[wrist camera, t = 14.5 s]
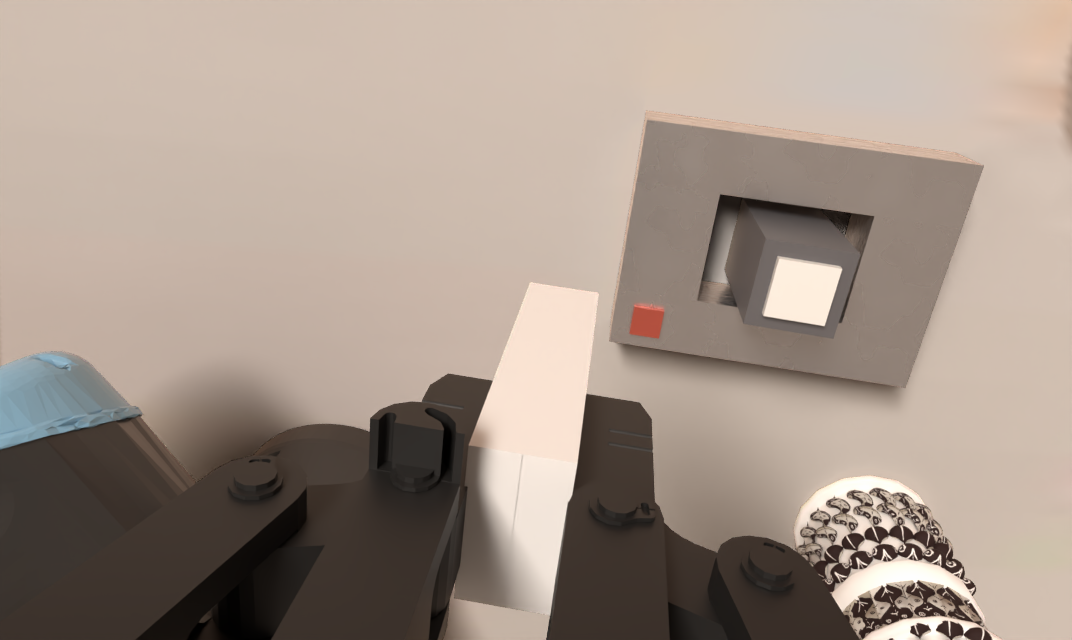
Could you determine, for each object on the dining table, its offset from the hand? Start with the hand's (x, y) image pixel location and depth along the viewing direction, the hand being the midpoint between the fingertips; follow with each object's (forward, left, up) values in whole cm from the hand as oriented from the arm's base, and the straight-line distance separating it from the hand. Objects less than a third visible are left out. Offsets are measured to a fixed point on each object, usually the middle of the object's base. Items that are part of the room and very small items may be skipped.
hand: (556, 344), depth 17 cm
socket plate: (-4, -10, -26) cm, 29 cm away
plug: (-4, -10, -27) cm, 29 cm away
